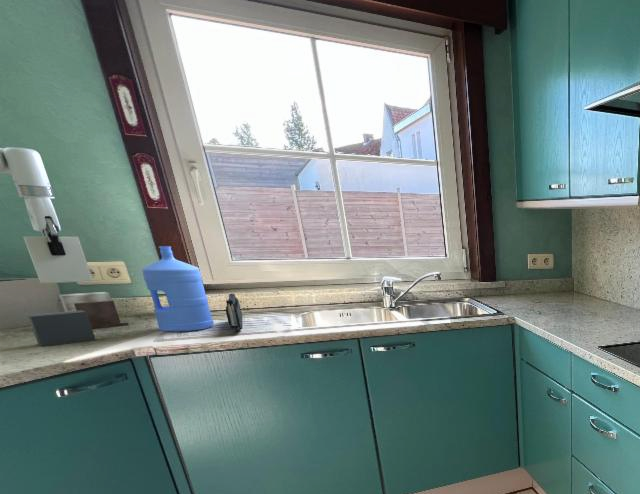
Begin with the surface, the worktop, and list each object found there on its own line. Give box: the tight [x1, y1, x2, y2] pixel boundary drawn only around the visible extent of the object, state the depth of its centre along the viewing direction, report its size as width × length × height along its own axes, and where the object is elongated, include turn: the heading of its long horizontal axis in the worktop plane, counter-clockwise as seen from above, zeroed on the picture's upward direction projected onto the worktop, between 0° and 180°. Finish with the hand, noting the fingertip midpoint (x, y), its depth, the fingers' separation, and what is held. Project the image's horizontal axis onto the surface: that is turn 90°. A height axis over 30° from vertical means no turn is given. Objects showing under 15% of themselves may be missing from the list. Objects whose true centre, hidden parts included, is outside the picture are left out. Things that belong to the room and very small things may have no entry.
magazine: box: [225, 293, 244, 334], centre depth 181 cm, size 17×3×30 cm
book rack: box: [58, 291, 129, 330], centre depth 174 cm, size 14×12×11 cm
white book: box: [22, 236, 94, 284], centre depth 159 cm, size 12×2×14 cm, turn 146°
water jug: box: [141, 245, 215, 333], centre depth 172 cm, size 16×16×28 cm
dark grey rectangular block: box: [26, 310, 97, 347], centre depth 152 cm, size 12×4×9 cm, turn 147°
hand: (57, 254), depth 159 cm, fingers closed on white book, 2 cm apart
